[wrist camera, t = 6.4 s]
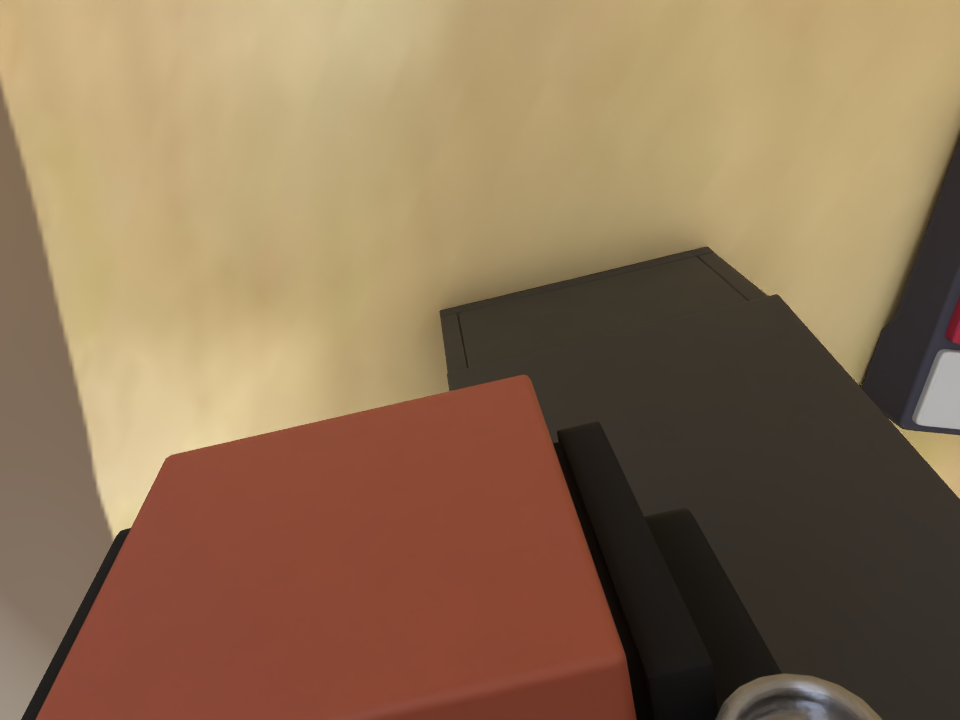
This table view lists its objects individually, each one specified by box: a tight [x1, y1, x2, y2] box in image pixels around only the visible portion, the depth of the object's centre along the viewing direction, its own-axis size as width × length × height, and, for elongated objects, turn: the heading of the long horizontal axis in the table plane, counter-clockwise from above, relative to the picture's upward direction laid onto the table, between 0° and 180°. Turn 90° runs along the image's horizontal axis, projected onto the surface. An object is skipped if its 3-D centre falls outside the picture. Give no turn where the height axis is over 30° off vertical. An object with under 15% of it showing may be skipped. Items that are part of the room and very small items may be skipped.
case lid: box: [447, 294, 960, 720], centre depth 22 cm, size 16×13×1 cm
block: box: [36, 375, 637, 720], centre depth 8 cm, size 4×4×4 cm
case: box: [440, 247, 768, 373], centre depth 36 cm, size 16×13×7 cm
